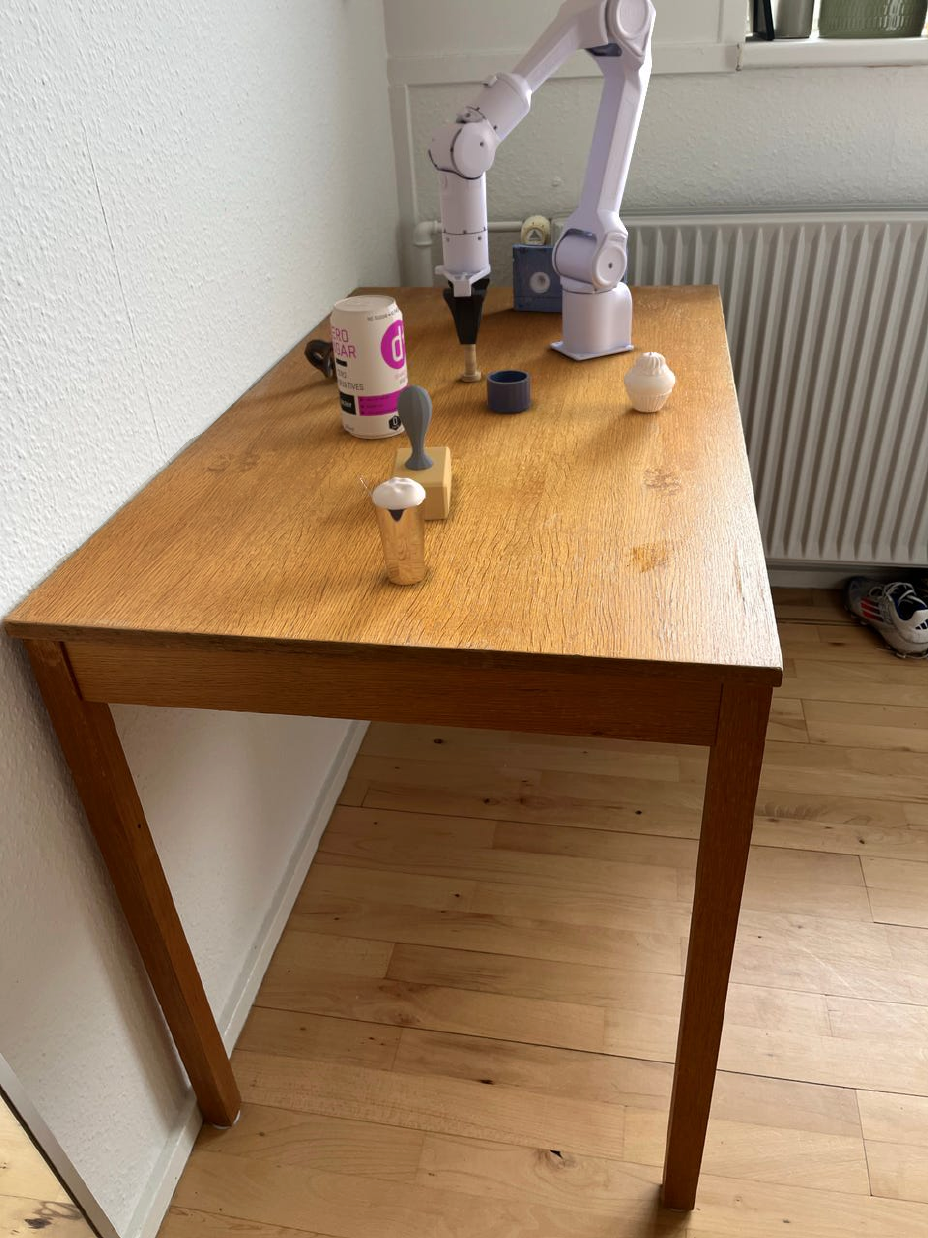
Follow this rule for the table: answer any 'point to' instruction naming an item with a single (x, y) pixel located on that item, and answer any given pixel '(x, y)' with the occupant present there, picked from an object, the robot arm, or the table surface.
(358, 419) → the supplement can
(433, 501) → the rubber stamp
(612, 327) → the robot arm
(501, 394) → the cup
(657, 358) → the muffin
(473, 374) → the beige capped rod
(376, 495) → the milkshake
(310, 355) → the pottery mug
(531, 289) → the vhs cassette tape
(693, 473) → the table surface
